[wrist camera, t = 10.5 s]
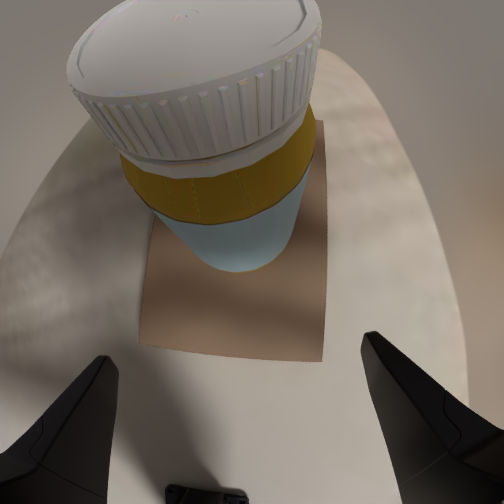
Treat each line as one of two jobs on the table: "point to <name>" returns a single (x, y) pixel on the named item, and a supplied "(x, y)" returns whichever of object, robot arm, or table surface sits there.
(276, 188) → the bottle
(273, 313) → the brown rectangular board
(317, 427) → the table surface
